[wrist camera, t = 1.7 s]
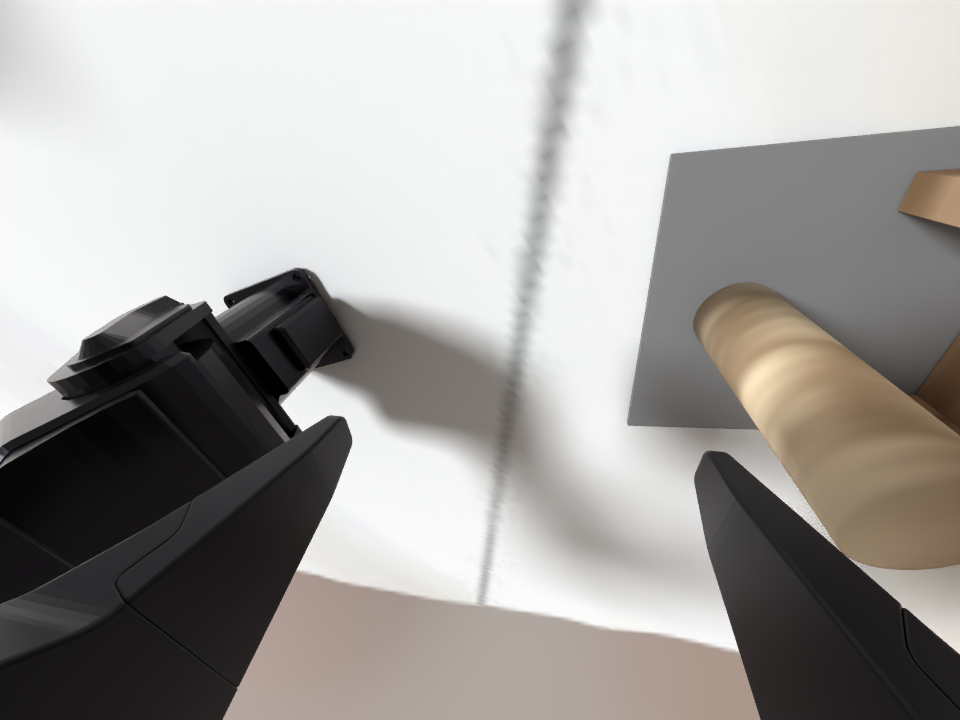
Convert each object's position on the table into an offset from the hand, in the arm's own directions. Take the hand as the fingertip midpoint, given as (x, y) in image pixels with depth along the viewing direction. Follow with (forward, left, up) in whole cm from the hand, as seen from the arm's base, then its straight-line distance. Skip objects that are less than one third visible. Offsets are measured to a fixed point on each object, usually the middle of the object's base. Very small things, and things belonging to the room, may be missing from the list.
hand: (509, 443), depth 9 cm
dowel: (+10, -6, -13) cm, 17 cm away
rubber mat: (+16, -8, -13) cm, 22 cm away
